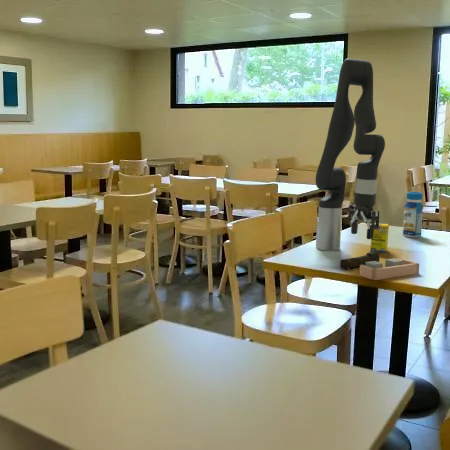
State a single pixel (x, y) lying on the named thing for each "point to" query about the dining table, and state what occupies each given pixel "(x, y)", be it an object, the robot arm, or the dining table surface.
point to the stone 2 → (392, 262)
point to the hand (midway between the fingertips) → (361, 236)
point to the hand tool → (359, 260)
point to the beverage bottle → (413, 215)
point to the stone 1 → (374, 264)
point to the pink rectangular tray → (390, 270)
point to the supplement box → (380, 238)
